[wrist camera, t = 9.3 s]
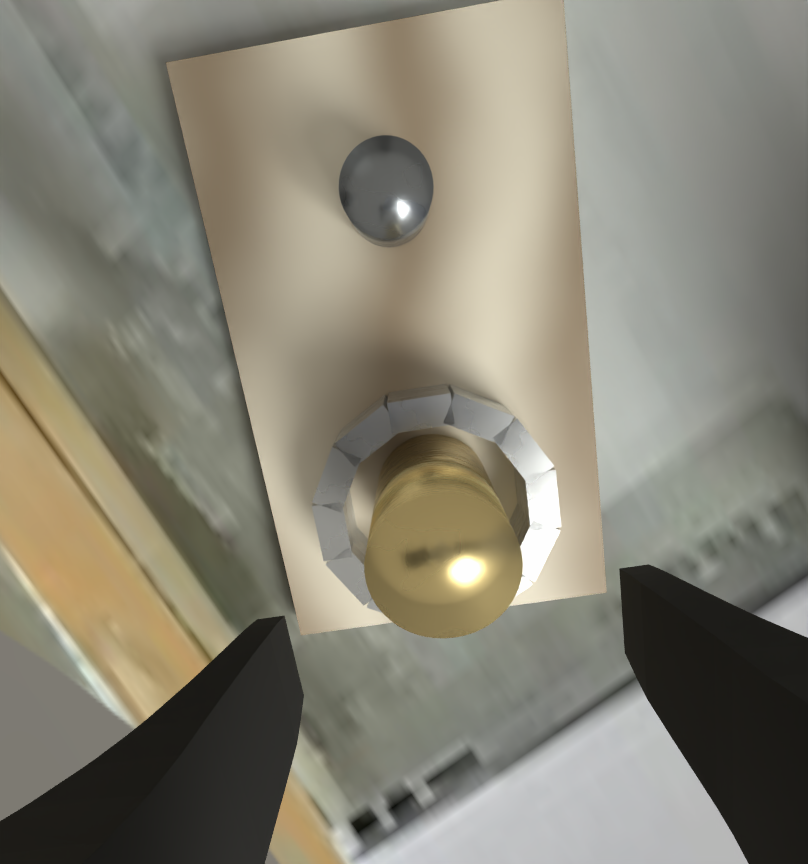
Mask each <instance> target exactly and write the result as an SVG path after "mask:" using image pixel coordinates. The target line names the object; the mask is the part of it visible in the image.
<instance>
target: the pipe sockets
mask: <svg viewBox="0 0 808 864" xmlns="http://www.w3.org/2000/svg"><path fill="white" fill-rule="evenodd" d="M433 189H434V184H433V176H432V172H431V169H430V166H429V164H428V162H427V160H426V158H425V157H424V155H423V154H422V153H421V151H420V150H419V149H418V148H417V147H416V146H414V145H413V144H412V143H410V142H409V141H407V140H405V139H403V138H400V137H397V136H392V135H380V136H375V137H371V138H369V139H367V140H365V141H363V142H361V143H360V144H359V145H357V146H356V147H355V148H354V149H353V150H352V151H351V152H350V154H349V155H348V156H347V158H346V160H345V162H344V164H343V166H342V169H341V172H340V176H339V196H340V200H341V204H342V206H343V209H344V211H345V213H346V215H347V216H348V218H349V219H350V221H351V222H352V224H353V225H354V227H355V228H356V230H357V231H358V233H359V234H360V235H361V236H362V237H363V238H364V239H366V240H367V241H369V242H370V243H372V244H374V245H377V246H380V247H387V248H392V247H398V246H401V245H404V244H406V243H408V242H410V241H411V240H413V239H414V238H415V237H416V236H417V235H418V234H419V233H420V231H421V230H422V228H423V227H424V225H425V223H426V220H427V217H428V214H429V210H430V206H431V202H432V198H433ZM446 425H450V426H452V427H455V428H458V429H460V430H463V431H466V432H468V433H471V434H474V435H476V436H479V437H482V438H484V439H487V440H490V441H492V442H495V443H496V444H497V445H498V446H499V448H500V449H501V450H502V451H503V453H504V454H505V455H506V456H507V458H508V459H509V460H510V461H511V463H512V464H513V468H514V477H515V486H516V494H517V505H516V507H515V509H514V512H513V514H512V516H511V518H510V520H509V522H510V524H511V526H512V528H513V530H514V532H515V535H516V537H517V539H518V542H519V545H520V547H521V552H522V558H523V572H522V578H521V583H520V586H519V589H518V591H517V594H516V596H517V595H518V594H520V593H521V592H522V591H524V590H525V589H527V588H528V587H530V586H531V585H532V582H531V580H533V581H536V579H537V577H538V575H539V573H540V571H541V569H542V567H543V565H544V563H545V561H546V559H547V557H548V555H549V553H550V551H551V549H552V546H553V544H554V542H555V540H556V538H557V536H558V534H559V532H560V529H559V528H558V527H561V521H560V510H559V499H558V488H557V477H556V469H555V468H554V465H553V464H552V462H551V461H550V460H549V459H548V457H547V456H546V455H545V453H544V452H543V451H542V450H541V448H540V447H539V446H538V444H537V443H536V442H535V441H534V439H533V438H532V437H531V435H530V434H529V433H528V432H527V430H526V429H525V428H524V426H523V425H522V424H521V422H520V421H519V420H518V419H517V418H516V417H515V416H514V415H513V414H512V413H511V412H510V411H509V410H508V408H507V407H506V406H504V405H503V404H501V403H498V402H495V401H493V400H490V399H488V398H485V397H482V396H480V395H477V394H475V393H472V392H469V391H467V390H464V389H462V388H459V387H456V386H454V385H451V384H449V387H447V385H446V384H439V385H433V386H427V387H420V388H414V389H408V390H401V391H395V392H389V394H388V397H387V396H386V394H385V395H383V396H382V397H381V398H380V399H378V400H377V401H376V402H375V403H374V404H372V405H371V406H370V407H369V408H367V409H366V410H365V411H364V412H362V413H361V414H360V415H359V416H357V417H356V418H355V419H354V420H352V421H351V422H350V423H349V424H347V425H346V426H345V427H344V428H343V429H342V430H341V432H339V434H338V436H337V438H336V440H335V442H334V444H333V446H332V448H331V451H330V454H329V457H328V459H327V462H326V465H325V468H324V471H323V473H322V476H321V479H320V482H319V484H318V487H317V490H316V493H315V495H314V498H313V501H312V503H313V505H312V510H313V515H314V519H315V524H316V529H317V533H318V538H319V542H320V547H321V552H322V556H323V561H326V564H325V565H326V566H327V567H328V568H329V569H330V570H331V571H332V572H333V573H334V574H335V576H336V577H337V578H338V579H339V580H340V581H341V582H342V583H343V584H344V585H345V586H346V587H347V588H348V589H349V591H350V592H351V593H352V594H353V595H354V596H355V597H356V598H357V599H358V600H359V601H360V602H361V603H362V604H363V606H364V605H365V604H367V608H369V609H372V610H375V611H378V612H381V611H380V609H379V608H378V607H377V606H376V604H375V602H374V601H373V599H372V597H371V595H370V593H369V591H368V587H367V584H366V580H365V573H364V561H365V554H366V548H367V542H368V538H367V537H366V536H365V535H364V534H363V533H362V532H361V531H360V529H359V528H358V527H357V524H356V519H355V514H354V508H353V503H352V498H351V493H350V487H351V484H352V482H353V479H354V477H355V474H356V471H357V469H358V466H359V464H360V463H361V462H362V461H363V460H365V459H366V458H367V457H368V456H370V455H371V454H372V453H373V452H375V451H376V450H377V449H379V448H380V447H381V446H382V445H384V444H385V443H386V442H387V441H389V440H390V439H391V438H392V437H394V436H395V435H396V434H398V433H401V432H408V431H414V430H420V429H427V428H433V427H440V426H446ZM381 613H382V612H381Z"/></svg>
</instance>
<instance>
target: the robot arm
mask: <svg viewBox="0 0 808 864" xmlns="http://www.w3.org/2000/svg"><path fill="white" fill-rule="evenodd" d="M619 570H620V585H621V600H622V616H623V631H624V646H625V654H626V656H627V658H628V660H629V662H630V665H631V667H632V669H633V671H634V673H635V675H636V677H637V679H638V681H639V683H640V685H641V687H642V689H643V691H644V693H645V695H646V697H647V699H648V701H649V702H650V704H651V706H652V707H653V709H654V710H655V712H656V714H657V715H658V717H659V718H660V720H661V721H662V723H663V725H664V726H665V728H666V729H667V731H668V732H669V734H670V736H671V737H672V739H673V740H674V742H675V743H676V745H677V746H678V748H679V750H680V751H681V753H682V754H683V756H684V757H685V759H686V760H687V762H688V763H689V765H690V767H691V768H692V770H693V771H694V773H695V774H696V776H697V777H698V779H699V780H700V782H701V784H702V785H703V787H704V788H705V790H706V791H707V793H708V794H709V796H710V797H711V799H712V801H713V802H714V804H715V805H716V807H717V808H718V810H719V812H720V813H721V815H722V817H723V818H724V820H725V822H726V823H727V825H728V827H729V829H730V830H731V832H732V834H733V835H734V837H735V839H736V841H737V843H738V845H739V846H740V848H741V850H742V852H743V854H744V856H745V858H746V860H747V862H748V863H749V864H808V638H807V637H804V636H802V635H800V634H797V633H795V632H793V631H790V630H788V629H786V628H783V627H781V626H778V625H776V624H774V623H771V622H769V621H767V620H765V619H762V618H760V617H758V616H756V615H754V614H751V613H749V612H747V611H745V610H743V609H741V608H738V607H736V606H734V605H732V604H730V603H728V602H726V601H724V600H722V599H720V598H718V597H716V596H714V595H711V594H709V593H707V592H705V591H703V590H701V589H699V588H697V587H695V586H693V585H691V584H689V583H687V582H685V581H683V580H681V579H679V578H677V577H675V576H673V575H671V574H669V573H667V572H665V571H663V570H661V569H658V568H656V567H654V566H651V565H642V566H635V567H628V568H621V569H619ZM303 698H304V694H303V690H302V686H301V682H300V678H299V674H298V670H297V666H296V661H295V657H294V653H293V649H292V645H291V641H290V637H289V633H288V629H287V624H286V620H285V616H279V617H272V618H265V619H257V620H256V621H255V622H253V623H252V624H251V625H250V626H249V627H248V628H246V629H245V630H244V631H243V632H242V633H241V634H240V635H239V636H238V637H237V638H236V639H235V640H234V641H232V642H231V643H230V644H229V645H228V646H227V647H226V648H225V649H224V650H223V651H222V652H221V653H220V654H219V655H218V656H217V657H216V658H215V659H214V660H213V661H211V662H210V663H209V664H208V665H207V666H206V667H205V668H204V669H203V670H202V671H201V672H200V673H199V674H198V675H197V676H196V677H195V678H193V679H192V680H191V681H190V682H189V683H188V684H187V685H186V686H185V687H183V688H182V689H181V690H180V691H179V692H178V693H177V694H175V695H174V696H173V697H172V698H171V699H170V700H169V701H167V702H166V703H165V704H164V705H163V706H162V707H161V708H159V709H158V710H157V711H156V712H155V713H154V714H153V715H151V716H150V717H149V718H148V719H147V720H145V721H144V722H143V723H142V724H141V725H139V726H138V727H137V728H136V729H134V730H133V731H132V732H130V733H129V734H128V735H127V736H125V737H124V738H123V739H122V740H120V741H119V742H117V743H116V744H115V745H114V746H112V747H111V748H109V749H108V750H107V751H105V752H104V753H103V754H102V755H100V756H99V757H98V758H96V759H95V760H93V761H92V762H90V763H89V764H88V765H86V766H85V767H83V768H82V769H80V770H79V771H77V772H76V773H74V774H73V775H71V776H70V777H68V778H67V779H65V780H64V781H62V782H61V783H59V784H58V785H56V786H55V787H53V788H52V789H50V790H49V791H48V792H46V793H44V794H43V795H41V796H40V797H38V798H37V799H35V800H34V801H32V802H31V803H29V804H28V805H26V806H24V807H23V808H21V809H20V810H18V811H17V812H15V813H13V814H11V815H10V816H8V817H6V818H5V819H3V820H1V821H0V864H265V860H266V856H267V853H268V849H269V845H270V842H271V838H272V834H273V831H274V827H275V823H276V820H277V816H278V812H279V809H280V805H281V802H282V798H283V794H284V791H285V787H286V783H287V780H288V776H289V772H290V768H291V765H292V761H293V757H294V753H295V749H296V745H297V740H298V734H299V727H300V721H301V713H302V705H303Z"/></svg>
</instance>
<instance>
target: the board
mask: <svg viewBox="0 0 808 864" xmlns="http://www.w3.org/2000/svg"><path fill="white" fill-rule="evenodd" d="M166 65H167V70H168V74H169V78H170V82H171V87H172V91H173V95H174V99H175V104H176V108H177V112H178V116H179V120H180V125H181V129H182V133H183V137H184V142H185V146H186V150H187V154H188V159H189V163H190V167H191V171H192V175H193V180H194V184H195V188H196V192H197V197H198V201H199V205H200V209H201V213H202V218H203V222H204V226H205V230H206V235H207V239H208V243H209V247H210V252H211V256H212V260H213V264H214V268H215V273H216V277H217V281H218V285H219V290H220V294H221V298H222V302H223V307H224V311H225V315H226V319H227V323H228V328H229V332H230V336H231V340H232V345H233V349H234V353H235V357H236V362H237V366H238V370H239V374H240V378H241V383H242V387H243V391H244V395H245V400H246V404H247V408H248V412H249V416H250V421H251V425H252V429H253V433H254V438H255V442H256V446H257V450H258V455H259V459H260V463H261V467H262V471H263V476H264V480H265V484H266V488H267V493H268V497H269V501H270V505H271V510H272V514H273V518H274V522H275V526H276V531H277V535H278V539H279V543H280V548H281V552H282V556H283V560H284V564H285V569H286V573H287V577H288V581H289V586H290V590H291V594H292V598H293V603H294V607H295V611H296V615H297V619H298V624H299V628H300V632H301V635H306V634H313V633H320V632H328V631H335V630H342V629H349V628H356V627H363V626H371V625H378V624H385V623H392V621H390V620H389V619H388V618H387V617H386V616H385V615H384V614H383V613H381V612H378V611H375V610H372V609H369V608H367V604H365V605H364V606H363V604H362V603H361V602H360V601H359V600H358V599H357V598H356V597H355V596H354V595H353V594H352V593H351V592H350V591H349V589H348V588H347V587H346V586H345V585H344V584H343V583H342V582H341V581H340V580H339V579H338V578H337V577H336V576H335V574H334V573H333V572H332V571H331V570H330V569H329V568H328V567H327V566H326V565H325V564H326V561H323V556H322V552H321V547H320V542H319V538H318V533H317V529H316V524H315V519H314V515H313V510H312V505H313V503H312V501H313V498H314V495H315V493H316V490H317V487H318V484H319V482H320V479H321V476H322V473H323V471H324V468H325V465H326V462H327V459H328V457H329V454H330V451H331V448H332V446H333V444H334V442H335V440H336V438H337V436H338V434H339V432H341V430H342V429H343V428H344V427H345V426H346V425H347V424H349V423H350V422H351V421H352V420H354V419H355V418H356V417H357V416H359V415H360V414H361V413H362V412H364V411H365V410H366V409H367V408H369V407H370V406H371V405H372V404H374V403H375V402H376V401H377V400H378V399H380V398H381V397H382V396H383V395H385V394H386V396H387V397H388V394H389V392H395V391H401V390H408V389H414V388H420V387H427V386H433V385H439V384H446V385H447V387H449V384H451V385H454V386H456V387H459V388H462V389H464V390H467V391H469V392H472V393H475V394H477V395H480V396H482V397H485V398H488V399H490V400H493V401H495V402H498V403H501V404H503V405H504V406H506V407H507V408H508V410H509V411H510V412H511V413H512V414H513V415H514V416H515V417H516V418H517V419H518V420H519V421H520V422H521V424H522V425H523V426H524V428H525V429H526V430H527V432H528V433H529V434H530V435H531V437H532V438H533V439H534V441H535V442H536V443H537V444H538V446H539V447H540V448H541V450H542V451H543V452H544V453H545V455H546V456H547V457H548V459H549V460H550V461H551V462H552V464H553V465H554V468H555V469H556V477H557V488H558V499H559V510H560V521H561V527H558V528H559V529H560V532H559V534H558V536H557V538H556V540H555V542H554V544H553V546H552V549H551V551H550V553H549V555H548V557H547V559H546V561H545V563H544V565H543V567H542V569H541V571H540V573H539V575H538V577H537V579H536V581H533V580H531V582H532V585H531V586H530V587H528V588H527V589H525V590H524V591H522V592H521V593H520V594H518V595H517V596H515V597H514V599H513V601H512V603H511V604H510V605H509V606H514V605H521V604H528V603H535V602H542V601H549V600H556V599H564V598H571V597H578V596H585V595H592V594H599V593H607V592H606V578H605V564H604V550H603V537H602V523H601V509H600V495H599V481H598V468H597V454H596V440H595V426H594V412H593V399H592V385H591V371H590V357H589V344H588V330H587V316H586V302H585V288H584V275H583V261H582V247H581V233H580V220H579V206H578V192H577V178H576V164H575V151H574V137H573V123H572V109H571V95H570V82H569V68H568V54H567V40H566V27H565V13H564V0H499V1H494V2H489V3H483V4H478V5H473V6H467V7H462V8H456V9H451V10H446V11H440V12H435V13H430V14H424V15H419V16H413V17H408V18H403V19H397V20H392V21H387V22H381V23H376V24H370V25H365V26H360V27H354V28H349V29H344V30H338V31H333V32H327V33H322V34H317V35H311V36H306V37H301V38H295V39H290V40H284V41H279V42H274V43H268V44H263V45H258V46H252V47H247V48H241V49H236V50H231V51H225V52H220V53H215V54H209V55H204V56H199V57H193V58H188V59H182V60H177V61H172V62H166ZM380 135H392V136H397V137H400V138H403V139H405V140H407V141H409V142H410V143H412V144H413V145H414V146H416V147H417V148H418V149H419V150H420V151H421V153H422V154H423V155H424V157H425V158H426V160H427V162H428V164H429V166H430V169H431V172H432V176H433V184H434V189H433V198H432V202H431V206H430V210H429V214H428V217H427V220H426V223H425V225H424V227H423V228H422V230H421V231H420V233H419V234H418V235H417V236H416V237H415V238H414V239H413V240H411V241H410V242H408V243H406V244H404V245H401V246H398V247H392V248H387V247H380V246H377V245H374V244H372V243H370V242H369V241H367V240H366V239H364V238H363V237H362V236H361V235H360V234H359V233H358V231H357V230H356V228H355V227H354V225H353V224H352V222H351V221H350V219H349V218H348V216H347V215H346V213H345V211H344V209H343V206H342V204H341V200H340V196H339V176H340V172H341V169H342V166H343V164H344V162H345V160H346V158H347V156H348V155H349V154H350V152H351V151H352V150H353V149H354V148H355V147H356V146H357V145H359V144H360V143H361V142H363V141H365V140H367V139H369V138H371V137H375V136H380ZM428 434H439V435H446V436H449V437H453V438H455V439H457V440H459V441H461V442H463V443H464V444H466V445H467V446H468V447H470V448H471V449H472V450H473V451H474V452H475V453H476V455H477V456H478V457H479V459H480V460H481V462H482V464H483V466H484V468H485V470H486V472H487V475H488V477H489V479H490V481H491V483H492V485H493V487H494V490H495V492H496V494H497V496H498V498H499V500H500V502H501V505H502V507H503V509H504V511H505V513H506V515H507V517H508V520H510V518H511V516H512V514H513V512H514V509H515V507H516V505H517V494H516V486H515V477H514V468H513V464H512V463H511V461H510V460H509V459H508V458H507V456H506V455H505V454H504V453H503V451H502V450H501V449H500V448H499V446H498V445H497V444H496V443H495V442H492V441H490V440H487V439H484V438H482V437H479V436H476V435H474V434H471V433H468V432H466V431H463V430H460V429H458V428H455V427H452V426H450V425H446V426H440V427H433V428H427V429H420V430H414V431H408V432H401V433H398V434H396V435H395V436H394V437H392V438H391V439H390V440H389V441H387V442H386V443H385V444H384V445H382V446H381V447H380V448H379V449H377V450H376V451H375V452H373V453H372V454H371V455H370V456H368V457H367V458H366V459H365V460H363V461H362V462H361V463H360V464H359V466H358V469H357V471H356V474H355V477H354V479H353V482H352V484H351V487H350V493H351V498H352V503H353V508H354V514H355V519H356V524H357V527H358V528H359V529H360V531H361V532H362V533H363V534H364V535H365V536H366V537H367V538H368V537H369V531H370V525H371V519H372V514H373V508H374V502H375V496H376V490H377V485H378V479H379V474H380V471H381V468H382V466H383V464H384V462H385V460H386V459H387V457H388V456H389V455H390V453H391V452H392V451H393V450H394V449H395V448H396V447H398V446H399V445H400V444H402V443H403V442H405V441H407V440H409V439H412V438H414V437H417V436H421V435H428Z"/></svg>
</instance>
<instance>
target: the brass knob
mask: <svg viewBox="0 0 808 864" xmlns="http://www.w3.org/2000/svg"><path fill="white" fill-rule="evenodd" d="M522 572H523V558H522V552H521V547H520V545H519V542H518V539H517V537H516V535H515V532H514V530H513V528H512V526H511V524H510V522H509V520H508V517H507V515H506V513H505V511H504V509H503V507H502V505H501V502H500V500H499V498H498V496H497V494H496V492H495V490H494V487H493V485H492V483H491V481H490V479H489V477H488V475H487V472H486V470H485V468H484V466H483V464H482V462H481V460H480V459H479V457H478V456H477V455H476V453H475V452H474V451H473V450H472V449H471V448H470V447H468V446H467V445H466V444H464V443H463V442H461V441H459V440H457V439H455V438H453V437H449V436H446V435H439V434H428V435H421V436H417V437H414V438H412V439H409V440H407V441H405V442H403V443H402V444H400V445H399V446H398V447H396V448H395V449H394V450H393V451H392V452H391V453H390V455H389V456H388V457H387V459H386V460H385V462H384V464H383V466H382V468H381V471H380V474H379V479H378V485H377V490H376V496H375V502H374V508H373V514H372V519H371V525H370V531H369V537H368V542H367V548H366V554H365V561H364V573H365V580H366V584H367V587H368V591H369V593H370V595H371V597H372V599H373V601H374V602H375V604H376V606H377V607H378V608H379V609H380V611H381V612H382V613H383V614H384V615H385V616H386V617H387V618H388V619H389V620H390V621H392V622H393V623H395V624H396V625H398V626H399V627H401V628H403V629H405V630H407V631H409V632H412V633H414V634H417V635H421V636H425V637H432V638H454V637H460V636H464V635H468V634H471V633H474V632H476V631H478V630H480V629H482V628H484V627H486V626H488V625H489V624H491V623H492V622H494V621H495V620H496V619H497V618H498V617H500V616H501V615H502V614H503V613H504V612H505V610H506V609H507V608H508V607H509V605H510V604H511V603H512V601H513V599H514V597H515V596H516V594H517V591H518V589H519V586H520V583H521V578H522Z"/></svg>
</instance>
